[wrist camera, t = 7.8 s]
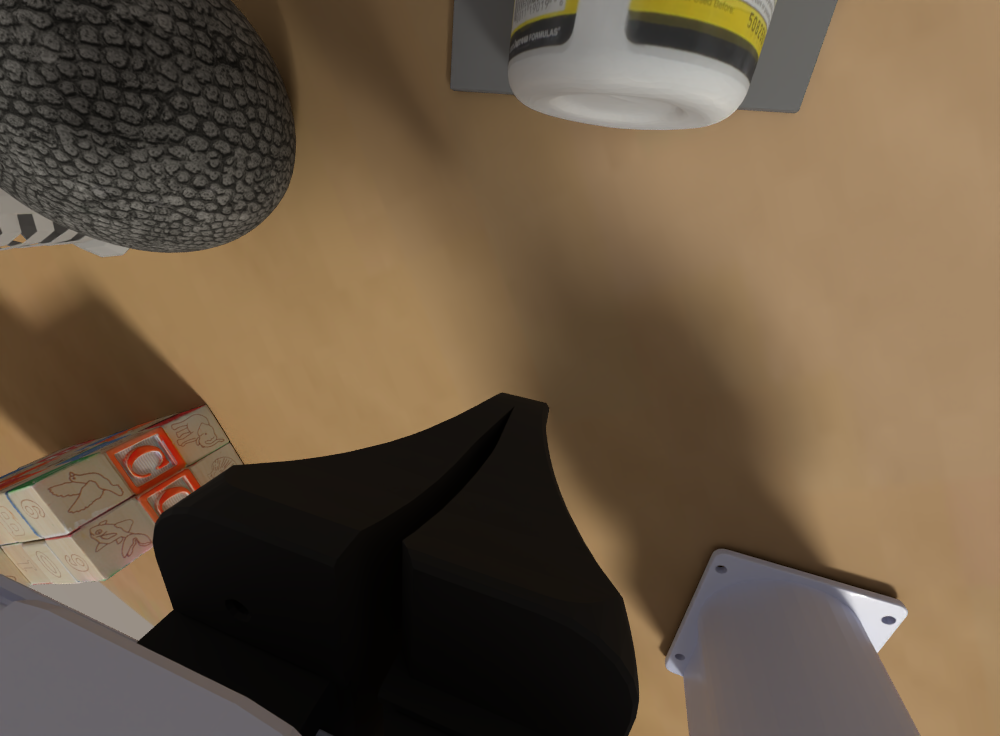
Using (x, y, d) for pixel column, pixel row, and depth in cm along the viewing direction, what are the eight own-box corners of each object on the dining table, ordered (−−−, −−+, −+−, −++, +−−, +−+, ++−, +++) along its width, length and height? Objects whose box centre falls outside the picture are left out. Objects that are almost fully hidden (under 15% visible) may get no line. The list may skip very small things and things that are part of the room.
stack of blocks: (208, 399, 28) (-66, 531, 17) (255, 476, 29) (32, 640, 19) (61, 448, 36) (-185, 557, 25) (104, 506, 38) (-110, 631, 27)
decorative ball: (137, 26, 19) (-294, -119, 10) (310, -42, 16) (-98, -339, 7) (215, 248, 23) (-54, 282, 14) (369, 228, 19) (148, 257, 11)
